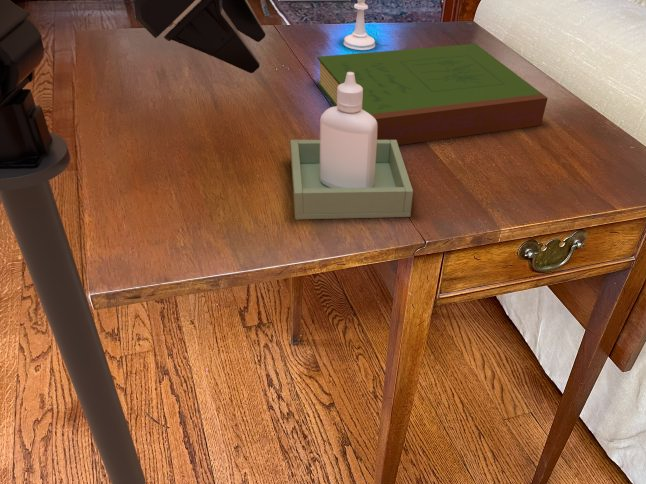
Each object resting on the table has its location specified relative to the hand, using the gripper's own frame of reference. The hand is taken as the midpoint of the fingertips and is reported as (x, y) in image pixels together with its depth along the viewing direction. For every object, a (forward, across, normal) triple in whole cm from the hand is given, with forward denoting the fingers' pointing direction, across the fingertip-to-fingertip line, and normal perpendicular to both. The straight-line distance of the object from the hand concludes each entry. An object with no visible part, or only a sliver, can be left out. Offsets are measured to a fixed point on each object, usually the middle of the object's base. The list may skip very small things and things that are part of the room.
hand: (259, 53), depth 59 cm
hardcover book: (+23, +20, -7) cm, 31 cm away
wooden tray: (+16, -1, +2) cm, 16 cm away
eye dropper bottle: (+15, -1, +2) cm, 16 cm away
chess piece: (+16, +41, -2) cm, 44 cm away
